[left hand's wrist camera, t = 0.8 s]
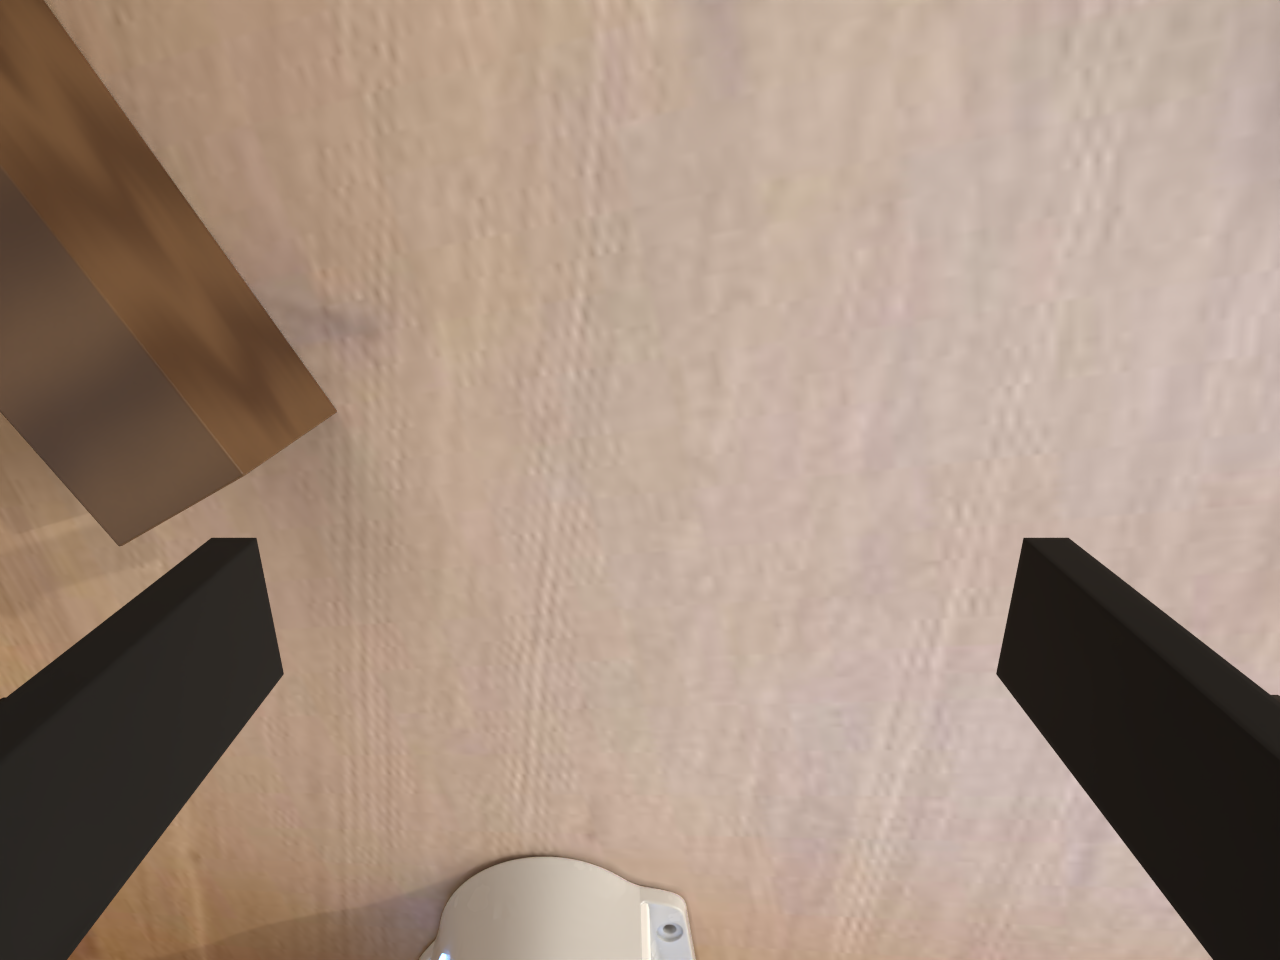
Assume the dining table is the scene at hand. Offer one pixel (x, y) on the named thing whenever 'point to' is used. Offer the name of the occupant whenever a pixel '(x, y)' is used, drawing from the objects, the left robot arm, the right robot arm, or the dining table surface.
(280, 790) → the dining table surface
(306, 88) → the dining table surface
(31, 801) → the left robot arm
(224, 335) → the box
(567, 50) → the dining table surface
